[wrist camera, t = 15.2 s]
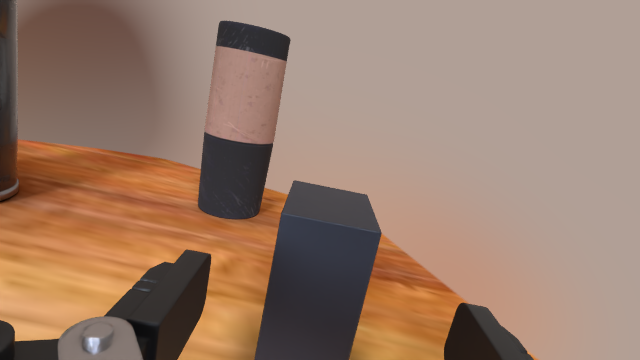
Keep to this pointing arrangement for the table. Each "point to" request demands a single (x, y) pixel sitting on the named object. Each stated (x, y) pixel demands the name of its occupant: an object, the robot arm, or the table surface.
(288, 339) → the slate block
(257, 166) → the travel mug
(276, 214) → the table surface
